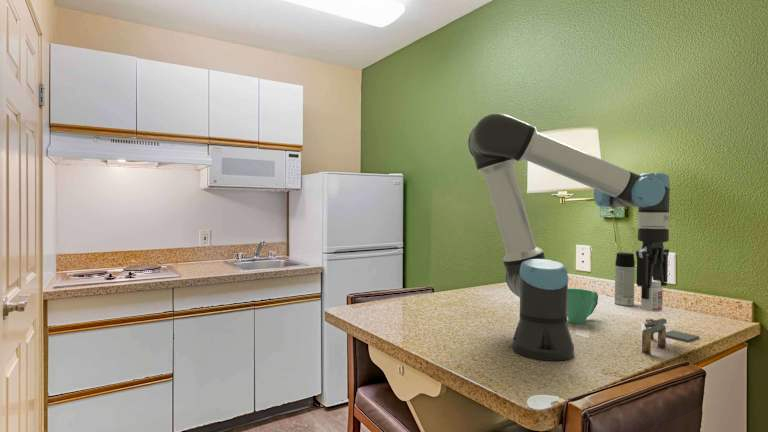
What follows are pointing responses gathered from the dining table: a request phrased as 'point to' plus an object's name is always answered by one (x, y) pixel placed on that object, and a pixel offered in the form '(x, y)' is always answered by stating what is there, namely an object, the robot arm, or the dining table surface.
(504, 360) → the dining table surface
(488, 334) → the dining table surface
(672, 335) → the pad
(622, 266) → the spray can
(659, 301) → the pill bottle
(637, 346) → the dining table surface
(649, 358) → the dining table surface
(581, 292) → the mug
